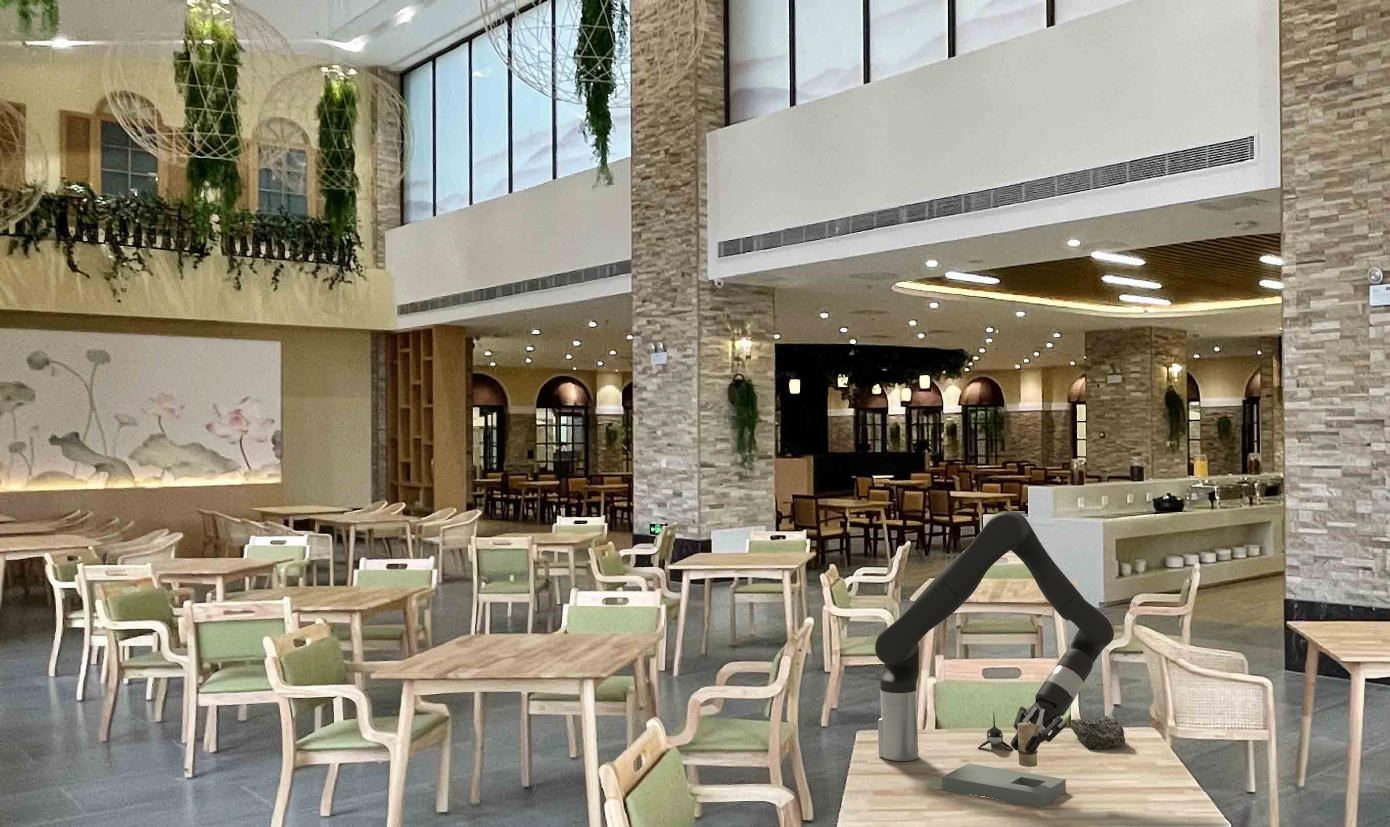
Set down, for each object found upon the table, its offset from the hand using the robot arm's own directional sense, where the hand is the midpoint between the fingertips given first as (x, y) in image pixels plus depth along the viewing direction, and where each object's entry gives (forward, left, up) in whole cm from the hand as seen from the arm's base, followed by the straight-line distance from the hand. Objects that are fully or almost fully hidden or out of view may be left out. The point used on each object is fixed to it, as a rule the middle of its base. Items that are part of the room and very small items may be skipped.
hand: (1020, 749), depth 269 cm
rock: (-3, +57, -11) cm, 58 cm away
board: (-5, +2, -11) cm, 12 cm away
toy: (-25, +40, -11) cm, 49 cm away
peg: (+1, +2, -4) cm, 4 cm away
